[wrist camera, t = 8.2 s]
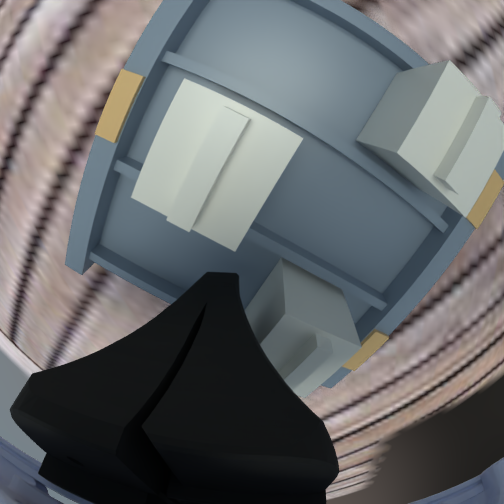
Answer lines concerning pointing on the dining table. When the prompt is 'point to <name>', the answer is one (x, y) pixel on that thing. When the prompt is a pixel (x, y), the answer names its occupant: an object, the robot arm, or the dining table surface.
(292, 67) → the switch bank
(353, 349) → the tab
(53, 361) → the dining table surface
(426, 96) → the tab
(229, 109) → the tab
